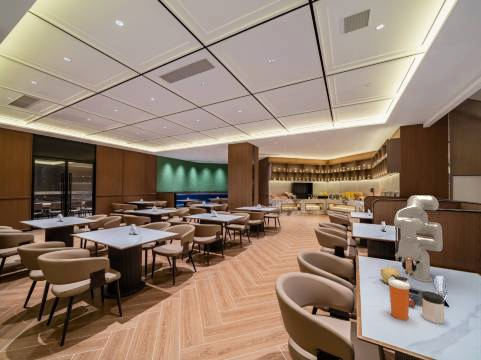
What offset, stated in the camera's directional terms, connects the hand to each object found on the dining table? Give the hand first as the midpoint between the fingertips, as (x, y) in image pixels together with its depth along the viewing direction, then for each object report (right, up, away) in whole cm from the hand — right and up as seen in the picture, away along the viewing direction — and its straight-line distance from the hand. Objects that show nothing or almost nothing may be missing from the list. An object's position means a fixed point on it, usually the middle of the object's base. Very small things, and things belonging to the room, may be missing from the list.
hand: (409, 269), depth 126 cm
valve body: (-2, -18, -4) cm, 18 cm away
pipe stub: (0, -3, 0) cm, 3 cm away
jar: (-4, -17, -20) cm, 27 cm away
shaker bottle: (-20, -16, -18) cm, 32 cm away
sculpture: (+4, -18, +20) cm, 27 cm away
